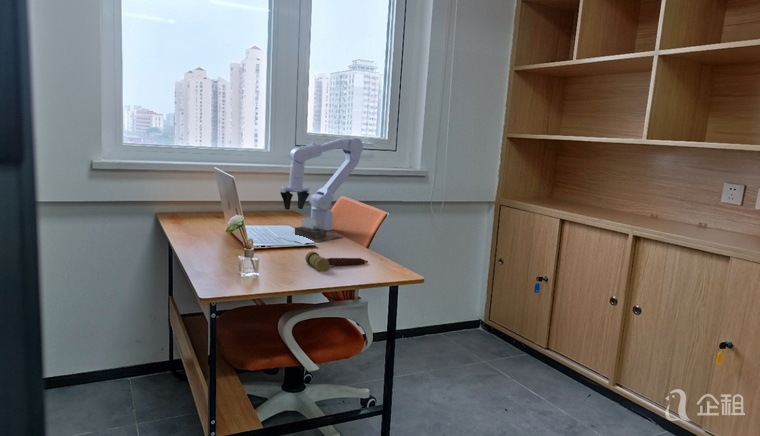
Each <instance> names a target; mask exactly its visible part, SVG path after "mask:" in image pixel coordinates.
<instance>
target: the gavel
mask: <svg viewBox="0 0 760 436" xmlns="http://www.w3.org/2000/svg"><path fill="white" fill-rule="evenodd" d="M304 259H305V263H306V264H308V266H312V267H314V269H315V270H316V271H318V272H327V271H329V268H330V266H332V267H333V266H339V267H341V266H361V265H365V264H368V263H369V261H368V260H366V259H363V258H361V257H329V258H325V257H322V256H321V255H320V254H319V253H318V252H316V251H309V252H307V254H306V255H305V258H304Z"/></svg>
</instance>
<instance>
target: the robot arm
mask: <svg viewBox="0 0 760 436" xmlns="http://www.w3.org/2000/svg"><path fill="white" fill-rule="evenodd" d="M337 149H341V150H342V152H343V155H344V159H345V160H344V162H342V164H341V165H340V166H339V167H338V169H337V170H336V171H335V172H334V174H333V175H332V176H331V177H330V178H329V180H328V181H327V182H326V183H325V185H323V186H322V187H320V188H318V190H317V191H316V192H314V193H312V194H311V195H310V187H307V186H303V185H304V175H305V163H306V162H307V161H309V160H312V159H315V158H318V157H322V155H323V153H325V152H329V151H333V150H337ZM363 151H364V143H363V141H362V139H360V138H358V137H349V136H344V137H340V138H337V139H334V140H331V141H327V142H326V143H321V144H319V143H318V142H314V141H313V142H311V143H310V144H308V145H300V148H299V147H295V148H293V149H292V150H291V151H290V153H289V154H288V156H289V159H290V171H289V181H288V185H287V186H282V187H280V195H281V198H282V201H283V207H284V210H288V211H289V210H291V209H290V208H291V201H292V198H293V195H294V194H293V193H297V208H298V209H299V210H303V209H304V205H305V203H306V200H307V199H308V198H309V199H308V200H309V201H308V202H309V205H310V206H311V208H310V218H313V219H318V220H321V225H319V226H318V228H320V229H325V230H327V231H326V232H328V231H334V228H333V212H332V210H331V209H329V208H330V207H331V204H332V202H333V200H334V195H335V194H336V192H338V191H337V190H338V189H339V188H340V187H341V185H343V183H344V182H345V181H346V179H348V177H349V176H350V174H352V172H353V171H354V169H356V168H357V166H358V165H359V163H360V158H361V154H362V152H363Z"/></svg>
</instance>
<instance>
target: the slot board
mask: <svg viewBox="0 0 760 436" xmlns="http://www.w3.org/2000/svg"><path fill="white" fill-rule="evenodd" d="M294 233H295V235H299V236H303V237H306V238H308V239H310V240H312V241H314V242H317V243H322V242H328V241H332V240H333V241H334V240H338V239H343V238H344V236H343V235H340V234H336V233H332V232H328V231H327V230H325V229H320V228H318V230H317V231H311V230H307V229H303V228H302V226H297V227H294Z"/></svg>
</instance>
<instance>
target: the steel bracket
mask: <svg viewBox="0 0 760 436" xmlns="http://www.w3.org/2000/svg"><path fill="white" fill-rule="evenodd" d="M301 220H302V221H301V227H302V228H303V229H307V230H311V231H317V230H318V226H319V225H321V220H318V219H313V218H311V217H307V216H306V217H303V218H302V219H301Z"/></svg>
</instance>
